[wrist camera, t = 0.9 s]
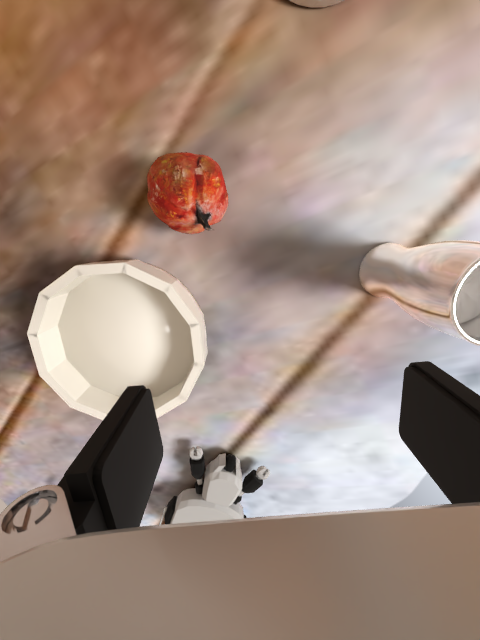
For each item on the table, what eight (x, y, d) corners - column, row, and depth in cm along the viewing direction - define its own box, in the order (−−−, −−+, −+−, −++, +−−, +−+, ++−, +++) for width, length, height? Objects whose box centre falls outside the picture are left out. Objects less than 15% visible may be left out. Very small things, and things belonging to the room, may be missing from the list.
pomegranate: (154, 195, 32) (173, 267, 28) (123, 132, 25) (142, 216, 21) (217, 175, 32) (243, 244, 28) (203, 107, 25) (236, 186, 21)
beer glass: (360, 307, 33) (451, 362, 19) (349, 248, 31) (443, 260, 17) (419, 291, 33) (560, 334, 18) (413, 230, 31) (565, 226, 16)
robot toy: (191, 430, 39) (160, 514, 42) (186, 452, 35) (151, 544, 38) (272, 455, 41) (236, 534, 44) (277, 479, 36) (237, 566, 39)
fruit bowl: (39, 264, 32) (7, 269, 27) (198, 254, 31) (192, 258, 27) (75, 404, 37) (54, 426, 33) (213, 396, 37) (209, 417, 32)
